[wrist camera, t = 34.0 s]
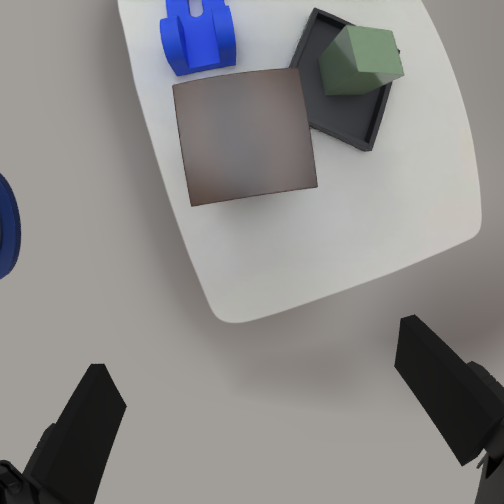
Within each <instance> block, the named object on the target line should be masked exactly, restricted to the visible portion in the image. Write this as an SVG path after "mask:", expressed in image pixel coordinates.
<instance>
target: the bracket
mask: <svg viewBox="0 0 504 504" xmlns="http://www.w3.org/2000/svg"><path fill="white" fill-rule="evenodd" d="M202 5H203V11H204V12H203V14H202V15H201V16H199V17H191V16H190V10H189V3H188V0H166V7H167V17H168V18H164V19H161V20H160V33H161V40H162V44H163V49H164V52H165V55H166V58H167V61H168V63H169V64H170V66H171V67H172V69H173V70H174V72H175V74H176V75H177V77H178V76H182V75H186V74H190V73H195V72H200V71H204V70H210V69H215V68H220V67H226V66H232V65H236V42H235V34H234V27H233V21H232V16H231V12H230V8H229V6H225V3H224V0H202Z"/></svg>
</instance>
